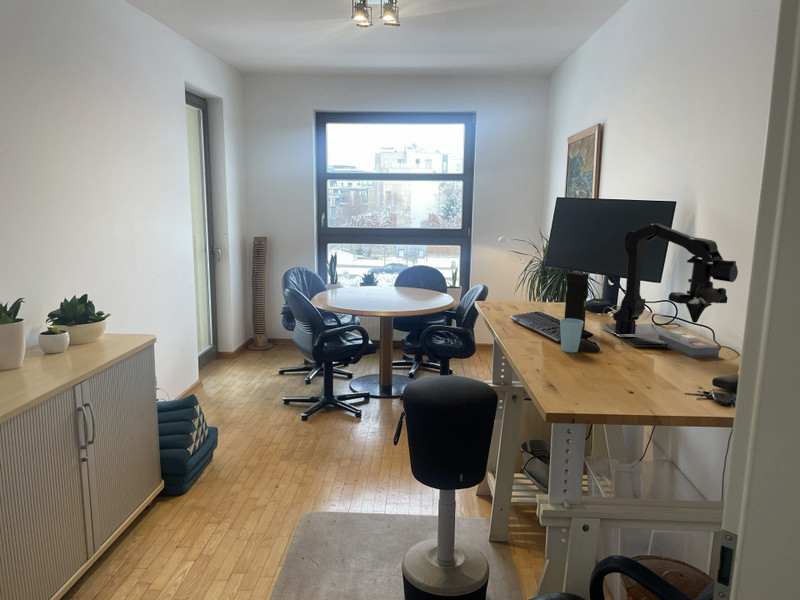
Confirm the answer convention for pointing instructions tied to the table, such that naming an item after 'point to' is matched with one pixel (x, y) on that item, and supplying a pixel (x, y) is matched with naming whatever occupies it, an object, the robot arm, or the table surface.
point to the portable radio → (576, 296)
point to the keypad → (690, 347)
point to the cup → (570, 334)
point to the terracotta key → (699, 344)
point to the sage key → (676, 334)
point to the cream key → (688, 338)
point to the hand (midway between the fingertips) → (694, 322)
